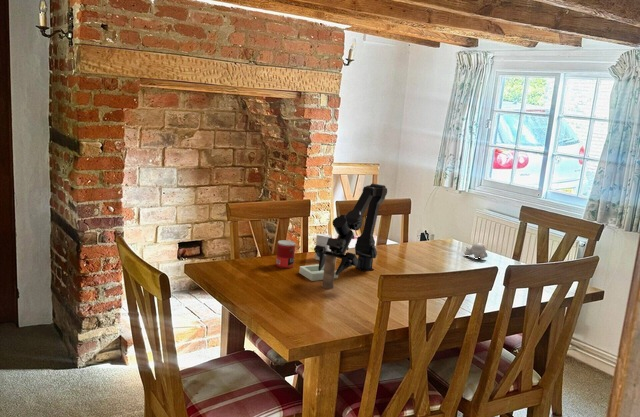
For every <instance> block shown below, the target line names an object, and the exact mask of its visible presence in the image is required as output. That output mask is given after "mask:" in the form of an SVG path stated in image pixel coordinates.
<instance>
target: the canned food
mask: <svg viewBox="0 0 640 417" xmlns="http://www.w3.org/2000/svg"><path fill="white" fill-rule="evenodd" d="M276 246H277V248H276V260H275V261H276V262H275V264H276V267H278V268H281V269H292V268H293V267H294V265H295V256H296V255H295V252H296V242H294V241H293V240H286V239H283V240H282V239H281V240H280V239H279V240H278V241H277V244H276Z"/></svg>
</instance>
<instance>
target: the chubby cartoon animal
mask: <svg viewBox="0 0 640 417" xmlns="http://www.w3.org/2000/svg"><path fill="white" fill-rule="evenodd" d="M465 248H466V249H465V250H463V255H464V254H465V255H469V256H472V255H473V256H474V257H475V258H479V257H480V259H479V260H483V259H485V258H487V257H488V256H489V255H488V252H487V251H486V250H487V249H486V246H485V244H484V243H482V242H474V243H473V244H472V246H470V245H468V246H465ZM465 255H464V256H465ZM474 257H473V258H474Z"/></svg>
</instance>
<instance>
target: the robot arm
mask: <svg viewBox="0 0 640 417" xmlns="http://www.w3.org/2000/svg"><path fill="white" fill-rule="evenodd" d="M387 194H388V188H387V186H386V185H384V184H383V185H382V184H378V183H377V184H376V183H374V182H373V183H371V184H370V185H365V186H364V187H363V188H362V192H361V195H360V196H359V198H358V200H357V202H356V203H355V205H354V206H353V209H352V210H349V211H348V212H347V213H346V214H340V215H339V216H336V217H334V219H333V220H332V226H333V229H334V230H335V232H336V234H338V235H337V237H336V238H332V237H331V238H328V241H327V244H326V245H328V246H329V249H330V251H328V250H326V248H325V246H321V245H316V244H315V246H314V248H313V251H314V253H316V254H317V256H318V257H319V260H318V264H319V268H318V270H319V271H320V270H321V269H322V267H323V266H324V264H325V256H326V255H333V256H335V257H336V259H337V258H338V259H341V260H340V261H341V262H340V263H339V266H338V267H337V269H336V270H337V271H336V273H335V274H336V275H338V276H339V274H341V273H342V272H344V270H347V269H348V268H349V267H350V268H351V267H352V266H353V267H355V268H356V269H358V270H360V271H361V272H366V271H367V272H368V271H374V270H375V268H373V261H374V259H376V258H377V256H378V251H377V248H376V245H375V244H376V240H375V238H374V232H375V227H376V223H377V218H378V214H379V209H380V206H381V204H382V203H383V202H384V201H385V199H386V196H387ZM365 212H366V216H365V221H363V215H364V214H365ZM363 222H364V225H363ZM362 225H363V230H362V232H361V235H359V236H357V238H356V242H355V245H354V249H355V250H354V252H355V253H354V252H348V250H349V248H350V247H349V245H350V243H351V242H352V240H355V235H354V232H353V231H359V230H360V229H361V228H362ZM357 256H358V257H357Z"/></svg>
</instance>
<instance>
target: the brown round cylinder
mask: <svg viewBox="0 0 640 417" xmlns="http://www.w3.org/2000/svg"><path fill="white" fill-rule="evenodd" d="M336 262H337V257H335V256H333V255H326V256H325V264H324V274H323V280H322V285H321V286H322V288H323V289H325V290H331V289H334V283H335V278H334V273H335V270H336Z"/></svg>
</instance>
